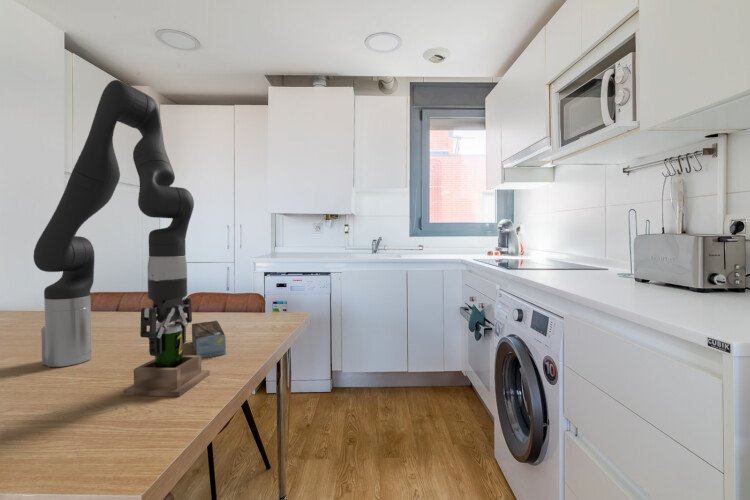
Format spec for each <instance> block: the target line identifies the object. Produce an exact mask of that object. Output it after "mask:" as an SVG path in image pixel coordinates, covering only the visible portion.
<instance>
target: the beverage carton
mask: <svg viewBox="0 0 750 500" xmlns="http://www.w3.org/2000/svg"><path fill="white" fill-rule="evenodd" d="M191 338H192V346H193V350H194V352H195V353H194V354H195V355H196V356H201V359H203V358H210V357H215V356H222V355H223V356H224V355H226V354H227V353H226V352H227V350H226V342H227V340H226V335H225V332H224V330H223V328H222V326H221V325H220V323H219V321H218V320H212V321H203V322H194V323H192V324H191Z"/></svg>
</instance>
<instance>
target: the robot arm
mask: <svg viewBox="0 0 750 500" xmlns="http://www.w3.org/2000/svg"><path fill="white" fill-rule="evenodd" d="M117 123H121V124H124V125H126V126H128V127H131V128H132V129H136V130H137V131H139V133H140V134H141V136H142V137H141V138H140V139H139V141H138V142H137V143H136V145H135V146H134V148H133V150H132V151H133V152H132V158H133V163H134V166H135V169H136V172H137V175H138V180H139V190H138V191H139V192H138V197H137V198H138V199H137V204H138V208H139V211H140V212H142V214H144V215H145V216H147V217H149V218H159V219H172V220H171V223H170V224H169V225H168V226H167V227H164V228H157V229H153V230H151V231H150V232H149V233H148V261H147V298H148V299H149V300H150V301H151V300H152V306H151V307H142V308H141V310H140V335H139V336H140V338H147V339H148V340H149V341H148V347H149V348H148V351H149V356H151V357H155V356H159V355H161V354H162V338H160V337H161V336H162V333H163V331H164V329H165V328H167V326H168V324H180V325H181V328H182V341H183V345H184V344H185V343H186V342H187V341H186V340H187V327H188V324H189V323H190V324H191V323H192V321H193V315H192V314H193V312H192V311H193V310H192V299H191V298H190V297H187V296H188V263H187V259H186V237H187V232H188V228H189V224H190V221H191V218H192V215H193V212H194V207H195V206H194V205H195V202H194V196H193V195H192V193H191V192H190V191H189V190H188V188H185V187H178V186H172V185H173V184H174V182H175V178H176V176H175V172H174V169H173V166H172V164H171V161H170V159H169V156H168V154H167V150H166V147H165V143H164V142H165V141H164V134H163V126H162V119H161V113H160V109H159V106H158V103H157V102H156V100H155V99H154V98H153V97H152V96H150V95H148V94H147V93H145V92H143V91H141V90H139V89H137V88H135V87H133V86H131V85H129V84H127V83H125V82H123V81H121V80H118V79H113V80H111V81H110V82H108V83H107V85H106V86H105V88H104V89H103V91H102V93H101V96H100V98H99V101H98V104H97V107H96V110H95V113H94V117H93V120H92V122H91V127H90V130H89V132H88V135H87V138H86V140H85V143H84V145H83V148H82V150H81V152H80V154H79V156H78V158H77V160H76V162H75V164H74V167H73V168H72V171H71V173H70V176H69V178H68V182H67V183H66V187H65V188H64V191H63V194H62V195H61V197H60V200H59V201H58V204H57V206H56V208H55V210H54V212H53V214H52V216H51V218H50V220H49V221H48V223H47V224H46V226H45V228H44V230H43V231H42V233H40V234H41V235H40V236H39V238H38V240H37V241H36V244H35V247H34V249H33V261H34V264H35V266H36V268H37V269H39V270H40V271H42V272H46V273H60V272H62V275H61V277H60V278H58V280H57V281H56V282H54V283H52V284H50V285H48V286H46V287H45V288H44V291H43V293H44V294H43V297H44V300H43V302H44V326H43V327H41V332H40V333H41V336H40V337H41V364H42V365H45V366H46V367H49V368H58V367H59V368H60V367H61V368H62V367H68V366H73V365H78V364H82V363H85V362H86V361H89V360H91V359H92V358H93V357H92V356H93V355H92V354H93V353H92V309H91V308H92V307H91V289H92V287H93V285H94V280H95V279H94V277H95V276H94V275H95V250H94V247H93V246H94V245H93V244H92V242H91V241H90V240H89V239H88V238H86V237H83V236H78V235H76V234H77V233H78V230H80V228H81V226H83V224H85V222H87V221H88V220H89V219H90V218H91V217H93V216H94V215H95V214H97V213H98V212H99V211H100V210H101V209H102V208H104V207H105V206H106V205H107V204H108V203H109V202H110V200H112V197H113V195H114V193H115V190H116V188H117V187H118V183H119V181H120V177H121V172H120V167H119V163H118V162H119V161H118V159H117V155H116V153H115V152H116V151H115V149H114V148H115V147H114V142H113V141H114V139H113V138H114V131H115V129H116V125H117ZM148 326H149V329H147V328H148ZM156 328H158V331H157V332H156ZM147 330H148V331H147Z"/></svg>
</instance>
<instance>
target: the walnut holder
mask: <svg viewBox="0 0 750 500" xmlns="http://www.w3.org/2000/svg"><path fill="white" fill-rule="evenodd" d="M210 375H211V371H210V370H209V369H208V370H207V369H206V370H202V358H201V356H196V354H195V355H191V354H190V355H187V354H183V364H181V365H179V366H177V367H176V368H155V358H154V359H152V360H149V361H147V362H145V363H143V364H142V365H139V366H138V367H135V368H134V369H133V384H132V385H131V386H128V387H127V388H125V389H124V390H123V394H122V395H123V396H139V397H140V396H141V397H142V396H143V397H146V396H147V397H177V398H178V397H181V396H183V395H184V394H186V392H188V391H190V390H191V389H192V388H193V387H195V386H197V384H200V383H201V382H202V381H203V380H204V379H206V378H208V376H210Z"/></svg>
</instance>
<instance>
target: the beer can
mask: <svg viewBox="0 0 750 500" xmlns="http://www.w3.org/2000/svg"><path fill="white" fill-rule="evenodd" d="M157 331H158V328H156V332H157ZM160 338H162V354H161V355H159V356H154V359H155V368H176V367H177V366H179V365H181V364H183V355H184V354H183V353H184V352H183V350H184V349H183V345H184V344H183V341H182V328H181V325H180V324H173V323H169V324H168V326H167V328H165V329H164V331H163V333H162V336H161V337H160Z"/></svg>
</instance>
